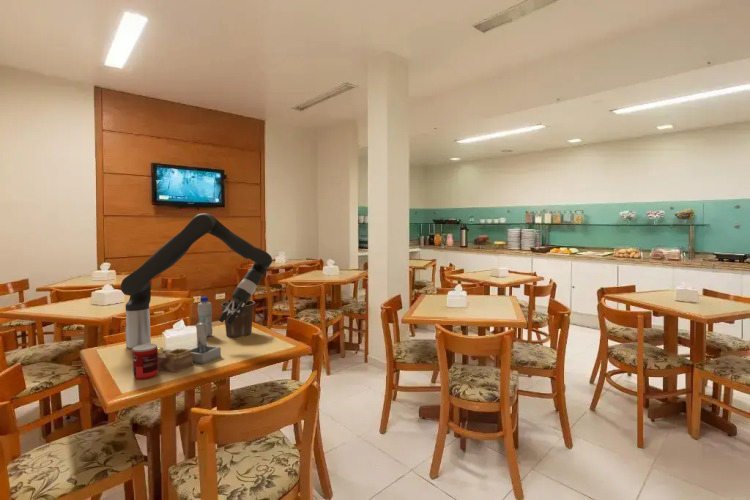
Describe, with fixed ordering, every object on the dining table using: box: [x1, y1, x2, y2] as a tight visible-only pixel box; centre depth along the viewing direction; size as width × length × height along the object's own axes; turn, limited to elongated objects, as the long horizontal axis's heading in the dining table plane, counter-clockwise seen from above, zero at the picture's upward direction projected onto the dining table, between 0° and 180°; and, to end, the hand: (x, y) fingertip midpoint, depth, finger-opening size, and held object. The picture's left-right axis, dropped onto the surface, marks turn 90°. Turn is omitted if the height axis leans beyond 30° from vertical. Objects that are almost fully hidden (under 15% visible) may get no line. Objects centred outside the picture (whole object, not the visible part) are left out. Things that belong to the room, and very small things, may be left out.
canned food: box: [132, 343, 159, 381], centre depth 142 cm, size 8×8×11 cm
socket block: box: [158, 348, 194, 374], centre depth 151 cm, size 16×8×6 cm, turn 70°
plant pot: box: [220, 299, 256, 338], centre depth 195 cm, size 16×16×16 cm
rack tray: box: [190, 345, 222, 365], centre depth 159 cm, size 10×10×4 cm
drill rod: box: [195, 322, 208, 354], centre depth 159 cm, size 4×4×14 cm
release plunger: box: [157, 347, 164, 355], centre depth 153 cm, size 3×3×6 cm
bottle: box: [197, 296, 213, 338], centre depth 192 cm, size 7×7×20 cm
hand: (224, 322), depth 169 cm, fingers open, 8 cm apart
